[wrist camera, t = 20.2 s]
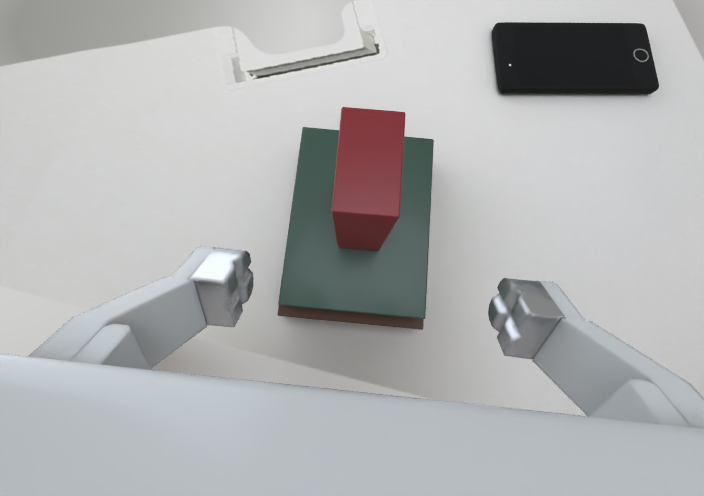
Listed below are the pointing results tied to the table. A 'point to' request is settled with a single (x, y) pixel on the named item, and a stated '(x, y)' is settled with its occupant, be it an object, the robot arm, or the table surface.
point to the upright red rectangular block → (367, 177)
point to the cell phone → (573, 58)
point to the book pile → (355, 264)
